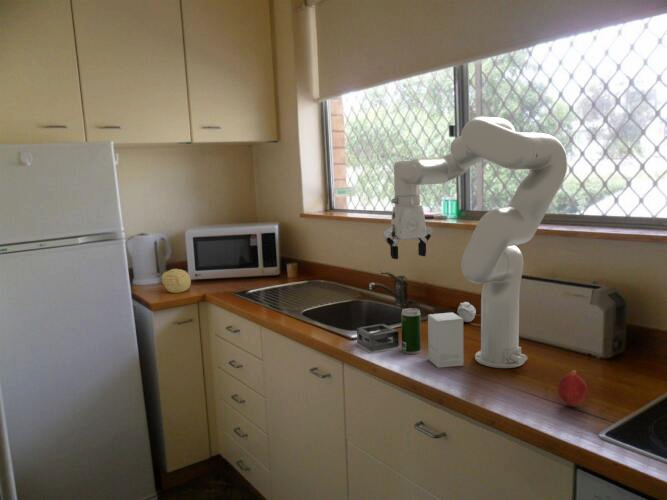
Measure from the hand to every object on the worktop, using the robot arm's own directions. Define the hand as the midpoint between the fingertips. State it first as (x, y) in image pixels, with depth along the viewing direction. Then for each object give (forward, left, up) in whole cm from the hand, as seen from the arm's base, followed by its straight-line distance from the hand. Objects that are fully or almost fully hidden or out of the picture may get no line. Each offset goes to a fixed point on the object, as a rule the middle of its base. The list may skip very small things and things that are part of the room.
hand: (408, 257), depth 164 cm
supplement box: (-26, +5, -25) cm, 37 cm away
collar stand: (-5, +14, -25) cm, 29 cm away
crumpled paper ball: (+2, -24, -25) cm, 34 cm away
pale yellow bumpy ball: (+110, +55, -25) cm, 126 cm away
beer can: (-14, +8, -25) cm, 30 cm away
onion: (-61, -2, -25) cm, 66 cm away
